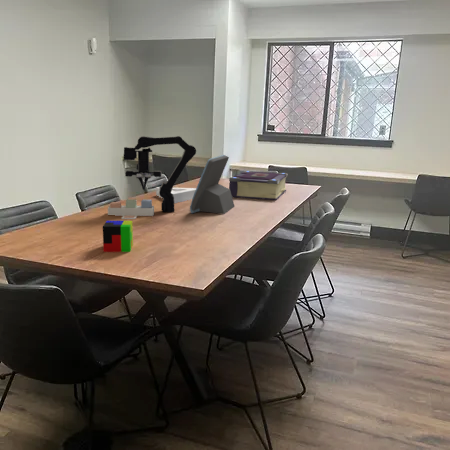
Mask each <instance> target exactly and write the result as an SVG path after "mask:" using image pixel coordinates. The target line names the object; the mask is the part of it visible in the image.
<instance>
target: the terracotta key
mask: <svg viewBox="0 0 450 450" xmlns="http://www.w3.org/2000/svg"><path fill="white" fill-rule="evenodd" d="M121 205H122V202H119V201H118V202H114V201H112V202H110V203H109V206H110V208H121Z"/></svg>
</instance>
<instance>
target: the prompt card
mask: <svg viewBox="0 0 450 450" xmlns="http://www.w3.org/2000/svg"><path fill="white" fill-rule="evenodd" d="M137 217H138V216H121V220H136V219H137Z"/></svg>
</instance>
